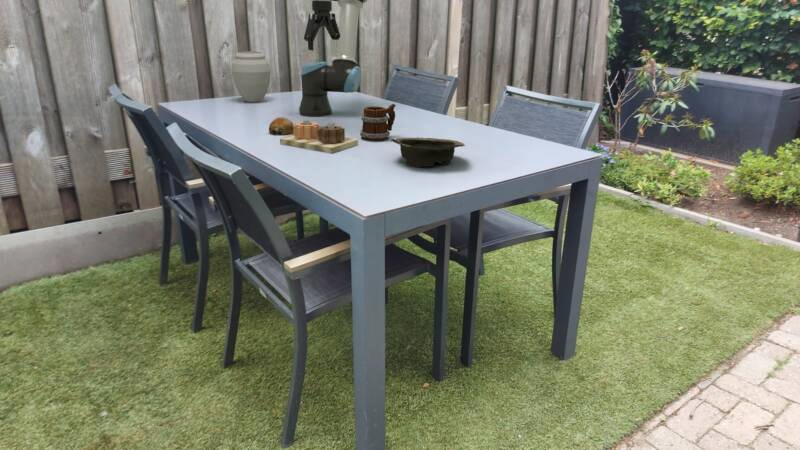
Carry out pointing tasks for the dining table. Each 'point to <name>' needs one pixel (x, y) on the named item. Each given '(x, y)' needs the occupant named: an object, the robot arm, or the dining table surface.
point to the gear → (306, 130)
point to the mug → (377, 123)
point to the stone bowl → (427, 150)
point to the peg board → (323, 140)
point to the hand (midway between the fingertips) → (323, 57)
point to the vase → (251, 75)
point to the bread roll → (281, 126)
